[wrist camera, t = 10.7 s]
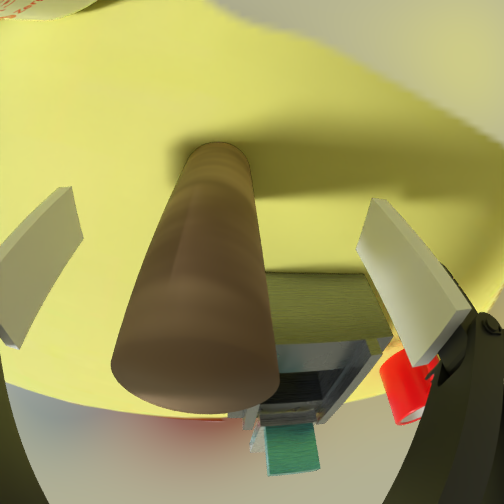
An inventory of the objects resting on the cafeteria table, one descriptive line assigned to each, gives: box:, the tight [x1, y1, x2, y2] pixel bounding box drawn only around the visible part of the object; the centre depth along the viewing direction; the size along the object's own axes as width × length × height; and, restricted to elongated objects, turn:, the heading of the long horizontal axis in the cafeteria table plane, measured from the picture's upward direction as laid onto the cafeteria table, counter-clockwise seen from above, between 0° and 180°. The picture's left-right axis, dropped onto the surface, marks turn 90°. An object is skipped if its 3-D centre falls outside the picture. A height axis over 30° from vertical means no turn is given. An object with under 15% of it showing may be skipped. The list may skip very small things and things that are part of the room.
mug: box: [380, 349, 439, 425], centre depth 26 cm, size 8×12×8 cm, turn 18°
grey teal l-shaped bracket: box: [250, 410, 320, 476], centre depth 22 cm, size 5×11×6 cm, turn 175°
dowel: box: [111, 142, 280, 414], centre depth 10 cm, size 4×4×12 cm
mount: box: [228, 273, 393, 430], centre depth 20 cm, size 10×12×7 cm
